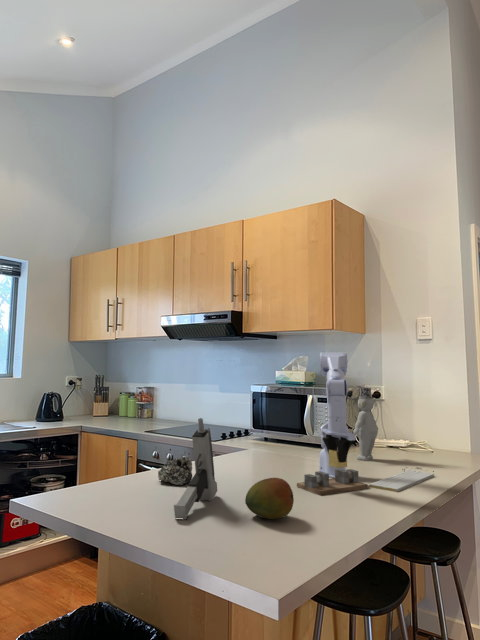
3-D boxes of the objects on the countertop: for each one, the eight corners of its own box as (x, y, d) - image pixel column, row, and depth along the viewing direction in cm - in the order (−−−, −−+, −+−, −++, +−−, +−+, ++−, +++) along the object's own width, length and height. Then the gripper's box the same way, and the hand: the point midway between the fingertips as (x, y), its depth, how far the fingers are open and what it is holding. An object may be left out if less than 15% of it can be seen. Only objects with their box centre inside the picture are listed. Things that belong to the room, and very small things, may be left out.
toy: (368, 455, 213) (367, 387, 216) (387, 458, 207) (385, 387, 210) (346, 460, 200) (345, 388, 203) (365, 463, 194) (364, 388, 197)
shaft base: (296, 486, 155) (296, 470, 155) (342, 480, 164) (342, 465, 164) (320, 495, 144) (319, 478, 145) (367, 488, 153) (367, 472, 154)
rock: (204, 486, 161) (197, 459, 167) (193, 477, 154) (186, 449, 160) (168, 501, 162) (163, 474, 168) (156, 493, 154) (150, 465, 161)
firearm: (164, 452, 117) (197, 411, 141) (174, 539, 122) (204, 486, 146) (181, 453, 116) (212, 412, 140) (190, 541, 121) (219, 487, 144)
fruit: (288, 528, 114) (288, 484, 115) (238, 522, 118) (238, 480, 119) (297, 514, 125) (297, 474, 126) (251, 509, 129) (251, 471, 130)
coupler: (328, 465, 153) (328, 449, 154) (338, 464, 155) (338, 448, 156) (337, 468, 150) (337, 451, 150) (347, 466, 152) (346, 450, 152)
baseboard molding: (361, 487, 157) (396, 494, 149) (361, 478, 157) (396, 484, 149) (401, 473, 180) (434, 478, 172) (401, 465, 180) (434, 469, 172)
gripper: (313, 415, 158) (313, 458, 157) (342, 420, 146) (343, 466, 144) (329, 414, 162) (330, 456, 160) (360, 419, 149) (361, 464, 148)
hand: (337, 460), depth 153 cm, fingers closed on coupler, 4 cm apart
